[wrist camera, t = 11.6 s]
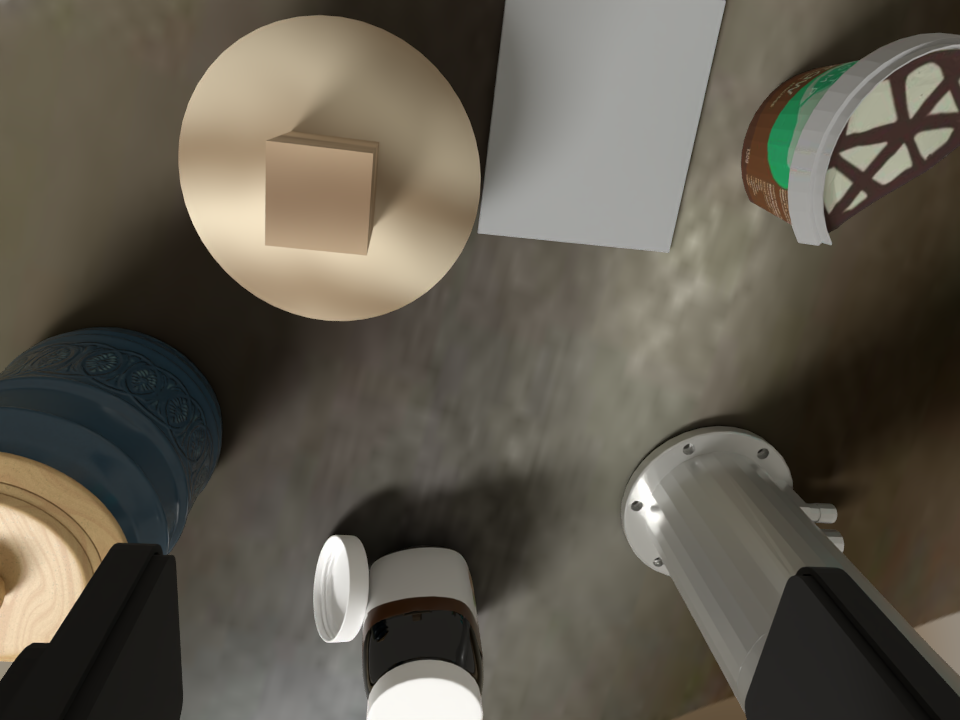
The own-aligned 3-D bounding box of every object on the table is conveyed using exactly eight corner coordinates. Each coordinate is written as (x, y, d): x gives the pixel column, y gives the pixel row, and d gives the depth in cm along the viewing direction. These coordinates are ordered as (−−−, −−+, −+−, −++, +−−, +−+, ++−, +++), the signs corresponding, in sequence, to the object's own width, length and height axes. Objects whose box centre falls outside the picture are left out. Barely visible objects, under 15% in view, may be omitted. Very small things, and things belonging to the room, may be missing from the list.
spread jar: (477, 630, 52) (496, 771, 41) (331, 650, 51) (311, 798, 41) (464, 500, 47) (481, 620, 37) (303, 519, 47) (272, 648, 36)
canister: (64, 279, 39) (-182, 416, 23) (265, 390, 43) (178, 575, 27) (-24, 445, 42) (-294, 669, 26) (170, 534, 46) (41, 778, 30)
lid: (461, 325, 36) (473, 377, 30) (189, 302, 34) (139, 352, 28) (496, 41, 31) (519, 29, 25) (179, -5, 29) (114, -32, 23)
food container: (870, -5, 38) (1020, -35, 28) (908, 91, 40) (1059, 92, 31) (683, 130, 39) (767, 143, 30) (729, 215, 42) (821, 251, 32)
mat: (722, 1, 37) (725, 0, 37) (666, 251, 42) (669, 252, 42) (509, -33, 35) (510, -34, 35) (477, 231, 40) (478, 233, 40)
